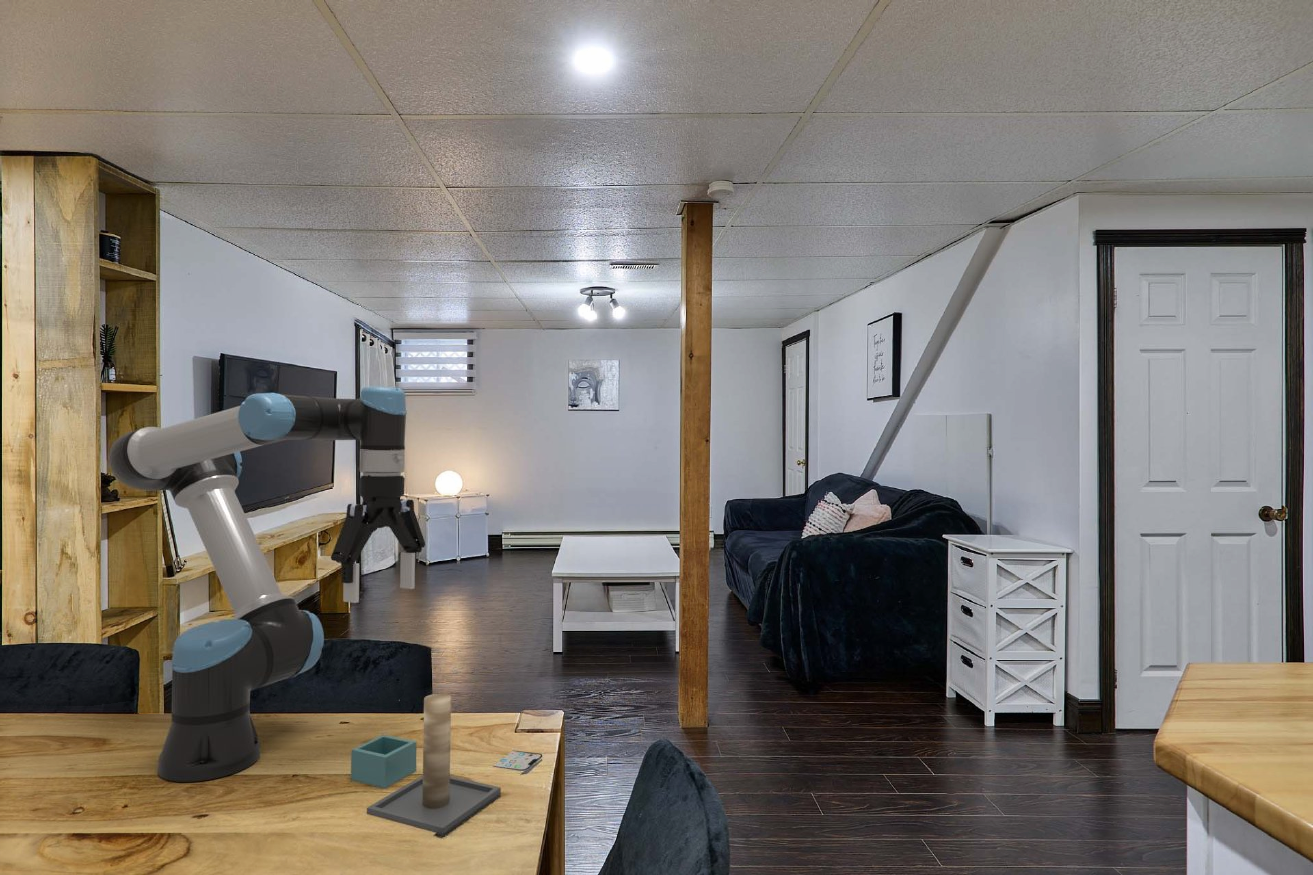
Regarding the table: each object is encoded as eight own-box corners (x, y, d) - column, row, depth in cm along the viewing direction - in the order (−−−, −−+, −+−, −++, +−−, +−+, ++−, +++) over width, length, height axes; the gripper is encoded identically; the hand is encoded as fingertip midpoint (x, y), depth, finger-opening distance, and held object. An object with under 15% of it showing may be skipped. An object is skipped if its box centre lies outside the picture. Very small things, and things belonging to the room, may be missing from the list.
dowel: (416, 805, 116) (418, 699, 116) (434, 794, 120) (435, 692, 120) (437, 810, 115) (439, 703, 115) (454, 799, 118) (456, 695, 118)
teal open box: (350, 783, 125) (351, 749, 125) (382, 766, 131) (383, 734, 131) (384, 792, 122) (385, 757, 122) (416, 774, 128) (416, 741, 128)
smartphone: (470, 745, 140) (544, 754, 136) (470, 751, 140) (544, 760, 136) (447, 761, 133) (525, 771, 129) (447, 767, 133) (525, 777, 129)
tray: (366, 817, 114) (366, 807, 114) (429, 779, 126) (429, 771, 126) (442, 838, 108) (442, 828, 108) (500, 796, 121) (500, 787, 121)
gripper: (343, 477, 122) (341, 610, 122) (445, 472, 145) (443, 584, 145) (309, 476, 125) (307, 606, 125) (414, 471, 148) (412, 581, 148)
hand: (380, 594), depth 135 cm, fingers open, 13 cm apart
